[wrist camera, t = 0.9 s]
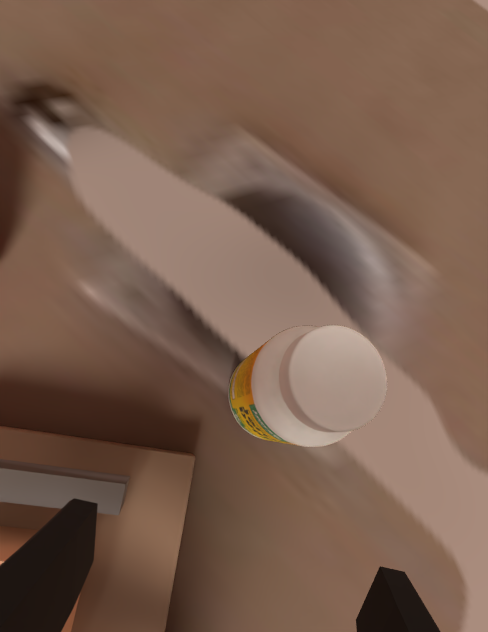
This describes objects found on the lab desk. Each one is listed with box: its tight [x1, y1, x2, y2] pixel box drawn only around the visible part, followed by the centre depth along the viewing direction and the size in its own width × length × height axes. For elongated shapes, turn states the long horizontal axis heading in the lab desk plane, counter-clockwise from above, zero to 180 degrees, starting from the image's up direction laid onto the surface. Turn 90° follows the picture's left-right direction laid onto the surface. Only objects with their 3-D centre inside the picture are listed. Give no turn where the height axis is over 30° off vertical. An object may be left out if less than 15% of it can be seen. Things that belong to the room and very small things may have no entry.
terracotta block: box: [0, 526, 80, 632], centre depth 14 cm, size 5×5×4 cm
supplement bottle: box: [228, 325, 387, 447], centre depth 18 cm, size 5×5×10 cm
